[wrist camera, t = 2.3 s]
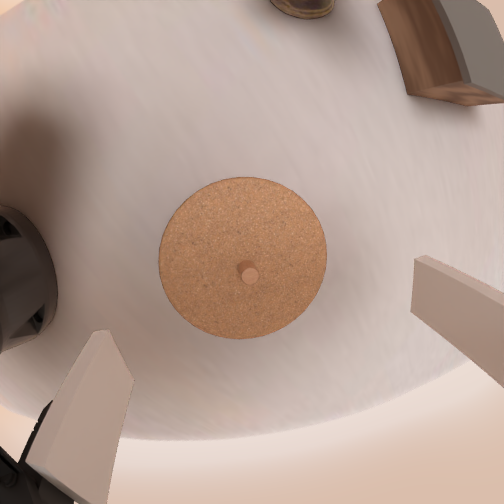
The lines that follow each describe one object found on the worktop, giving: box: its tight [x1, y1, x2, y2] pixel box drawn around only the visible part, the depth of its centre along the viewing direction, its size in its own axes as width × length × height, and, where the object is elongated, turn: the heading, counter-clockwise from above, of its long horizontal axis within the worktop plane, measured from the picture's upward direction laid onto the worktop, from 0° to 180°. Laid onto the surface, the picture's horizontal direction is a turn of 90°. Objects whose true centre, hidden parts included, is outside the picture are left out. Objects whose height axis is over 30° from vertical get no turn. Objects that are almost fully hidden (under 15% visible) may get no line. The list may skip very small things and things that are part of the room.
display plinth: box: [377, 0, 504, 106], centre depth 16 cm, size 14×14×10 cm
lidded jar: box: [159, 177, 327, 339], centre depth 19 cm, size 11×11×9 cm
